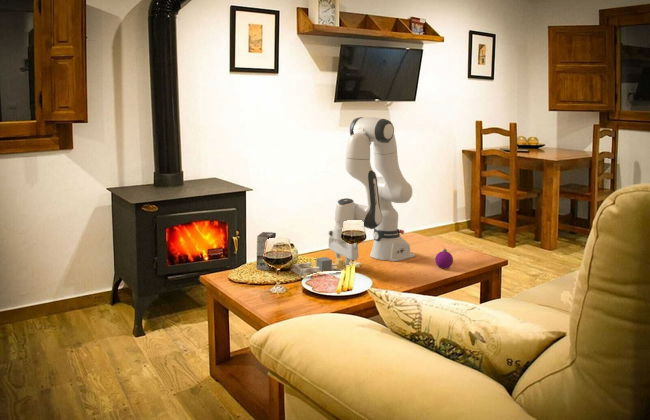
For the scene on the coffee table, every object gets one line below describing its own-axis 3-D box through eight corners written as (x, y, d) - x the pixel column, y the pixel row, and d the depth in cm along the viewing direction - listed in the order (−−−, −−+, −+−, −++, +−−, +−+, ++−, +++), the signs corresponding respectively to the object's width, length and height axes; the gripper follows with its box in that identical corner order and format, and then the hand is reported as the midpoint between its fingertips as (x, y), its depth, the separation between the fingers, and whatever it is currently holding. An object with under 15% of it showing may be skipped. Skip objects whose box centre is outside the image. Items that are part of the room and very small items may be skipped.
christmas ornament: (446, 272, 278) (448, 251, 276) (431, 267, 283) (432, 247, 281) (455, 268, 284) (457, 247, 282) (440, 264, 289) (442, 244, 287)
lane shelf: (339, 264, 283) (339, 256, 282) (354, 272, 272) (355, 264, 271) (289, 271, 270) (290, 263, 269) (303, 280, 259) (304, 271, 258)
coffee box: (269, 272, 267) (270, 237, 264) (256, 271, 269) (256, 236, 265) (275, 266, 276) (276, 232, 273) (262, 265, 277) (262, 231, 274)
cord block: (338, 265, 278) (339, 255, 277) (344, 268, 273) (344, 258, 272) (316, 268, 272) (316, 258, 271) (321, 272, 268) (322, 261, 267)
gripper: (362, 239, 265) (361, 269, 268) (338, 229, 283) (337, 257, 285) (350, 241, 262) (349, 271, 265) (326, 230, 279) (325, 259, 282)
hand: (342, 264), depth 275 cm, fingers open, 5 cm apart
